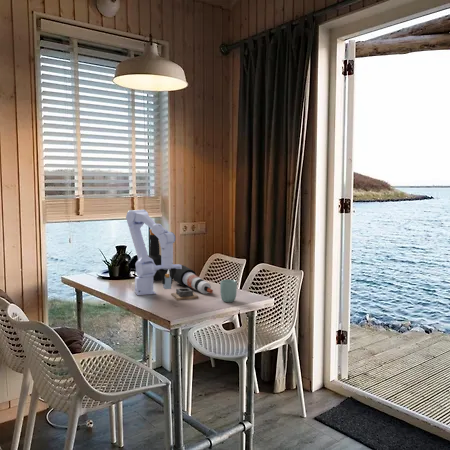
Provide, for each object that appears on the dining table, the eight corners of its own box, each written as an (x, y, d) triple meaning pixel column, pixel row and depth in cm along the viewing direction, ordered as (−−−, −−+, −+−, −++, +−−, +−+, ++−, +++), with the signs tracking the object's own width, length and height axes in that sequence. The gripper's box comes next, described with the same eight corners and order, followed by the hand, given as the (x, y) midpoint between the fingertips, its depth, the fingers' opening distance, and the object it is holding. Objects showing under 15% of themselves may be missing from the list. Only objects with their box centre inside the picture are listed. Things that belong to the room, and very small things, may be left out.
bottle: (135, 278, 266) (135, 229, 264) (158, 275, 278) (158, 227, 275) (150, 282, 255) (150, 231, 252) (173, 279, 266) (173, 229, 263)
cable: (206, 304, 226) (200, 289, 221) (175, 285, 253) (169, 271, 249) (222, 294, 230) (215, 278, 226) (190, 275, 257) (183, 261, 253)
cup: (229, 298, 221) (229, 278, 220) (239, 301, 215) (239, 281, 214) (217, 301, 215) (217, 280, 215) (227, 304, 210) (227, 283, 209)
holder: (176, 300, 216) (176, 293, 216) (171, 295, 226) (171, 288, 226) (198, 298, 220) (198, 291, 220) (191, 293, 231) (191, 286, 230)
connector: (165, 289, 217) (165, 275, 216) (163, 287, 221) (163, 273, 220) (171, 288, 218) (171, 274, 218) (169, 287, 222) (169, 273, 221)
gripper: (154, 258, 212) (154, 286, 213) (183, 257, 217) (183, 284, 218) (151, 256, 218) (151, 283, 220) (179, 255, 224) (179, 281, 225)
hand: (167, 283), depth 219 cm, fingers closed on connector, 3 cm apart
